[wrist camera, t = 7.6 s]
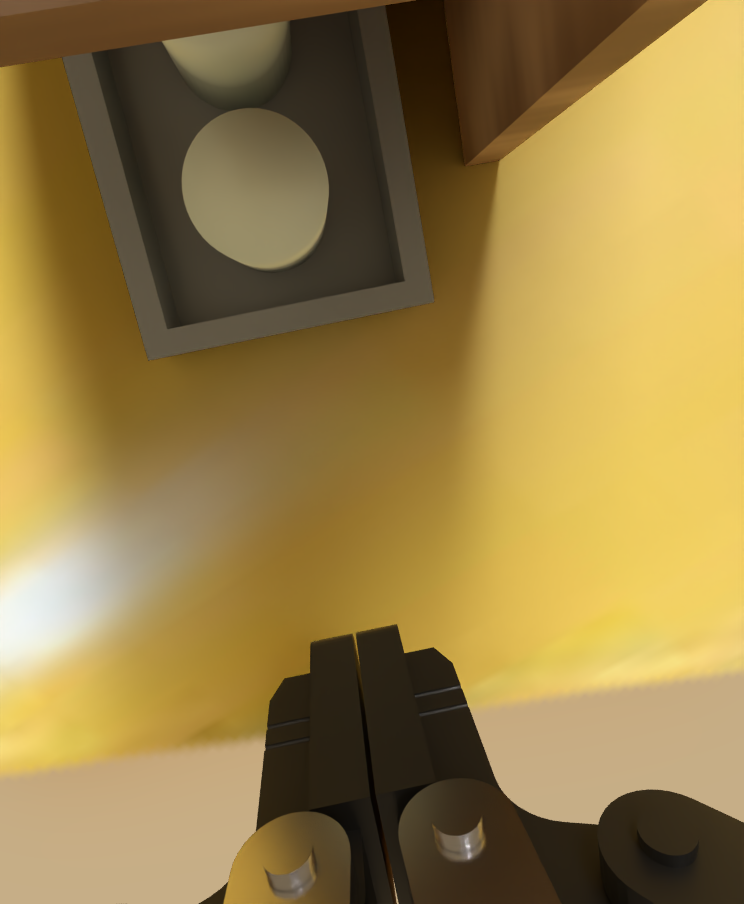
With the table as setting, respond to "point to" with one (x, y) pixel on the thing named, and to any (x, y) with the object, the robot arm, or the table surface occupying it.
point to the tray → (349, 176)
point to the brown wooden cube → (465, 3)
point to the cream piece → (257, 189)
